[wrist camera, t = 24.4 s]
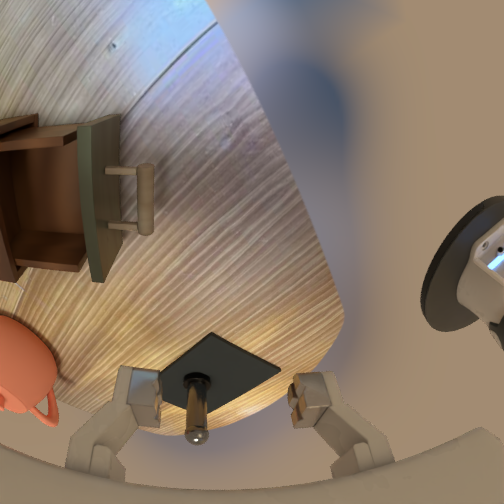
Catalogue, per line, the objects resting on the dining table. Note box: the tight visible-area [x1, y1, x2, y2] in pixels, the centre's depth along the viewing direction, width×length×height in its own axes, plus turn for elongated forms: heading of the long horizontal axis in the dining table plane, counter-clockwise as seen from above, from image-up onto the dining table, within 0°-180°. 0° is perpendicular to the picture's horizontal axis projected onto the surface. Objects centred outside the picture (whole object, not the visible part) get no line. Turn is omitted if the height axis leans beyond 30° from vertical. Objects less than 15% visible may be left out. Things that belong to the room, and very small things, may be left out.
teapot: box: [0, 315, 59, 427], centre depth 32 cm, size 25×17×13 cm
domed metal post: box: [183, 372, 211, 445], centre depth 39 cm, size 4×4×12 cm
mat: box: [160, 332, 281, 414], centre depth 45 cm, size 20×14×1 cm
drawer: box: [0, 114, 154, 283], centre depth 22 cm, size 18×13×7 cm
